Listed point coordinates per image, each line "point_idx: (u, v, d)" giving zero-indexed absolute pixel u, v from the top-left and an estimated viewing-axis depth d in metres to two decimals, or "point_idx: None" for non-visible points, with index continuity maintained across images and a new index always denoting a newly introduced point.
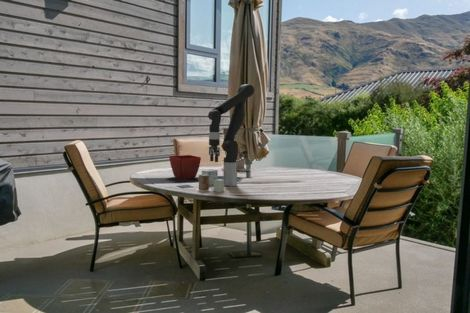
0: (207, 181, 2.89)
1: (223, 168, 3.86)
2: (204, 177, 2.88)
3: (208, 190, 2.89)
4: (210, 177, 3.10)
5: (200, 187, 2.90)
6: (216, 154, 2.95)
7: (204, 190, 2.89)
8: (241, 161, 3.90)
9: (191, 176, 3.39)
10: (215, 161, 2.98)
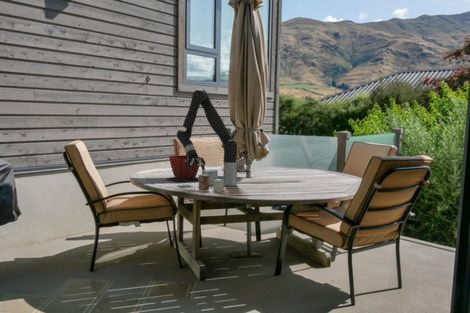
0: (207, 181, 2.89)
1: (223, 168, 3.86)
2: (204, 177, 2.88)
3: (208, 190, 2.89)
4: (210, 177, 3.10)
5: (200, 187, 2.90)
6: (186, 165, 2.96)
7: (204, 190, 2.89)
8: (241, 161, 3.90)
9: (191, 176, 3.39)
10: None
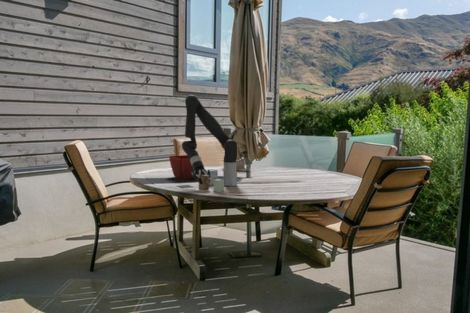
0: (207, 181, 2.89)
1: (223, 168, 3.86)
2: (204, 177, 2.88)
3: (208, 190, 2.89)
4: (210, 177, 3.10)
5: (200, 187, 2.90)
6: (194, 178, 2.90)
7: (204, 190, 2.89)
8: (241, 161, 3.90)
9: (191, 176, 3.39)
10: None
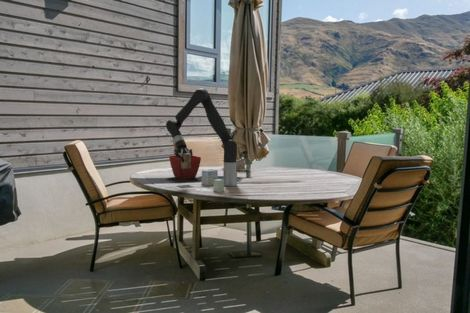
0: (189, 159, 2.97)
1: None
2: (186, 155, 2.95)
3: (208, 190, 2.89)
4: (210, 177, 3.10)
5: (182, 165, 2.98)
6: None
7: (204, 190, 2.89)
8: (242, 161, 3.90)
9: (191, 176, 3.39)
10: (182, 162, 2.96)
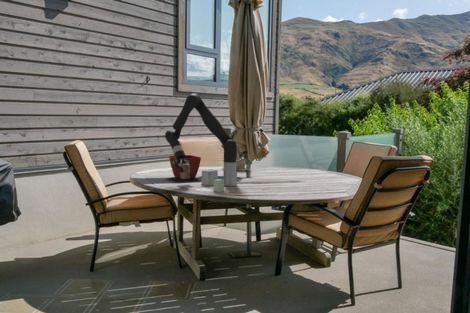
0: (188, 170, 2.99)
1: None
2: (185, 166, 2.97)
3: (208, 190, 2.89)
4: (210, 177, 3.10)
5: (181, 175, 2.99)
6: (176, 167, 2.99)
7: (204, 190, 2.89)
8: (242, 161, 3.91)
9: (191, 176, 3.39)
10: (181, 172, 2.98)
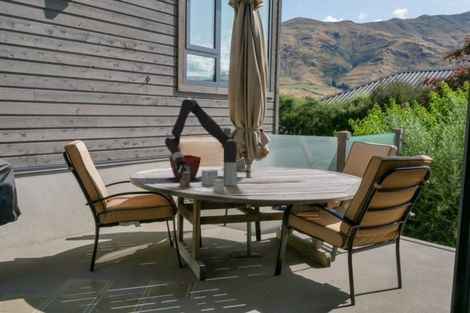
0: (188, 178, 2.99)
1: None
2: (185, 174, 2.98)
3: (208, 190, 2.89)
4: (210, 177, 3.10)
5: (181, 184, 3.00)
6: (174, 173, 2.99)
7: (204, 190, 2.89)
8: (242, 161, 3.91)
9: None
10: (180, 178, 2.98)
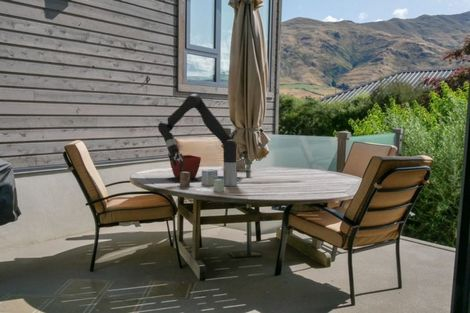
0: (188, 178, 2.99)
1: None
2: (185, 174, 2.98)
3: (208, 190, 2.89)
4: (210, 177, 3.10)
5: (181, 184, 3.00)
6: None
7: (204, 190, 2.89)
8: (242, 161, 3.91)
9: (191, 176, 3.39)
10: (174, 165, 3.07)
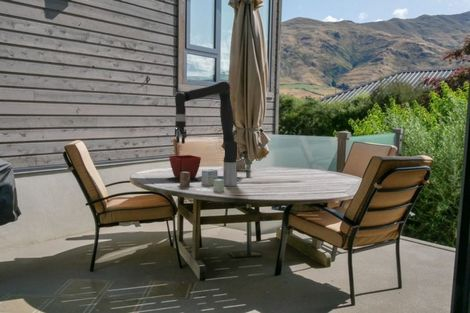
0: (188, 178, 2.99)
1: None
2: (185, 174, 2.98)
3: (208, 190, 2.89)
4: (210, 177, 3.10)
5: (181, 184, 3.00)
6: (183, 136, 3.02)
7: (204, 190, 2.89)
8: (242, 161, 3.91)
9: (191, 176, 3.39)
10: (182, 143, 3.05)
